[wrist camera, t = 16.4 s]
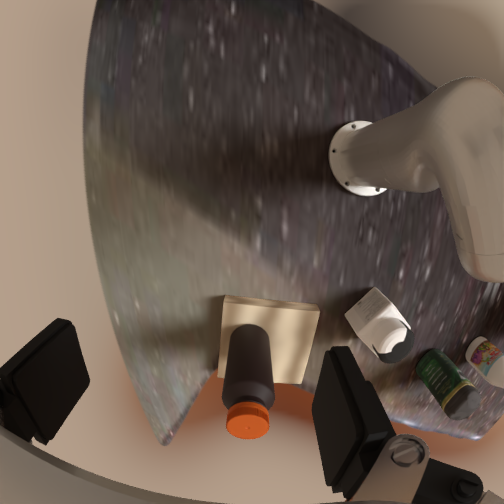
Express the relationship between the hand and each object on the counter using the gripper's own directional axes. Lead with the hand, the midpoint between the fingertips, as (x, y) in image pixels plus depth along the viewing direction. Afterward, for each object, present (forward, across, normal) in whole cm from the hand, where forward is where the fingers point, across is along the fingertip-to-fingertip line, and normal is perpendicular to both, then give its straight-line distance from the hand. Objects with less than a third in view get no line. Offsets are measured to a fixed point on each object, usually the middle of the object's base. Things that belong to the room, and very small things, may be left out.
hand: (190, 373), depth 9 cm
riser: (+37, -5, +22) cm, 43 cm away
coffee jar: (+37, -46, +30) cm, 66 cm away
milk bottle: (+38, -62, +28) cm, 78 cm away
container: (+37, -25, +16) cm, 47 cm away
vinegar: (+34, -2, +20) cm, 39 cm away
